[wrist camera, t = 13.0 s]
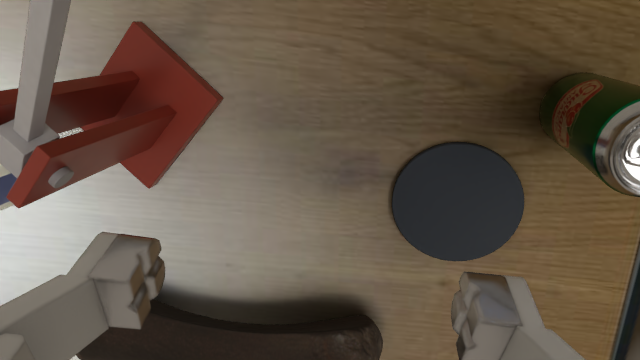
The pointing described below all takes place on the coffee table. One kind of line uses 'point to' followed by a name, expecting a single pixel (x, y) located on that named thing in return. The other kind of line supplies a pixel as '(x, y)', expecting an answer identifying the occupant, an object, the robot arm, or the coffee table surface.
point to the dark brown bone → (235, 339)
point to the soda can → (597, 126)
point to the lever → (34, 84)
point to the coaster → (457, 201)
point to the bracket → (117, 118)
